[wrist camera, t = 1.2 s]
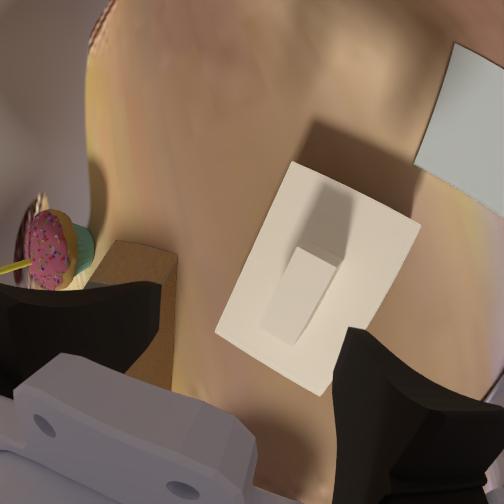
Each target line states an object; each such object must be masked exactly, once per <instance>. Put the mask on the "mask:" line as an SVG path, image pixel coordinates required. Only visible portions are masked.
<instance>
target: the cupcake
mask: <svg viewBox="0 0 504 504" xmlns="http://www.w3.org/2000/svg"><path fill="white" fill-rule="evenodd" d="M25 237H26V241H25V243H24V244H25V254H26V260H23V261H20V262H16V263H13V264H10V265H6V266H3V267H0V274H3V273H6V272H9V271H12V270H16V269H19V268H22V267H26V266H28V268H29V270H30V273H31V276H32V278H34V280H36V281H34V282H35V283H36V282H37V283H38V284H39V286H40V287H41V288H43V289H45V290H54V291H55V290H59V289H64V288H66V287H68V285H69V284H70V283H71V282H72V280H73V278H74V277H75V276H76V275H77V274H78V273H80V272H81V271H83V270H85V269H86V268H88V267H89V266H90V265H91V263H92V261H93V258H94V242H93V238H92V236H91V234H90V232H89V231H88V230H87V229H86V228H85V227H82V226H79V225H76V224H74V223H72V222H71V220H70V218H69V217H68V216H67V215H66V214H65V213H63V212H61V211H58V210H53V209H48V210H44V211H42V212H40V213H38V214H37V215H36V216H35V218H34V219H33V222H31V225H30V227H29V229H28V231H27V234H26V236H25Z"/></svg>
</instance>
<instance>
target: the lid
mask: <svg viewBox="0 0 504 504" xmlns="http://www.w3.org/2000/svg"><path fill="white" fill-rule="evenodd" d="M421 226H422V225H420V224H419V223H417V222H415V221H413V220H411V219H410V218H408V217H406V216H404V215H402V214H400V213H399V212H397V211H395V210H393V209H391V208H389V207H387V206H385V205H384V204H382V203H380V202H378V201H376V200H374V199H372V198H370V197H368V196H366V195H364V194H362V193H360V192H358V191H356V190H354V189H352V188H350V187H348V186H346V185H344V184H341V183H339V182H337V181H335V180H333V179H331V178H329V177H327V176H324V175H322V174H320V173H318V172H316V171H313V170H311V169H309V168H307V167H304V166H302V165H300V164H298V163H295V162H293V161H292V162H291V164H290V166H289V168H288V171H287V173H286V175H285V177H284V179H283V182H282V184H281V186H280V188H279V190H278V193H277V195H276V197H275V199H274V201H273V204H272V206H271V208H270V210H269V212H268V215H267V217H266V219H265V221H264V224H263V226H262V228H261V230H260V232H259V235H258V237H257V239H256V241H255V243H254V246H253V248H252V250H251V252H250V254H249V257H248V259H247V261H246V263H245V265H244V268H243V270H242V272H241V274H240V277H239V279H238V281H237V283H236V285H235V288H234V290H233V292H232V294H231V296H230V299H229V301H228V303H227V305H226V308H225V310H224V312H223V314H222V316H221V319H220V321H219V323H218V325H217V327H216V330H215V333H217V334H218V335H220V336H221V337H223V338H224V339H226V340H227V341H229V342H230V343H232V344H234V345H235V346H237V347H238V348H240V349H241V350H243V351H244V352H246V353H248V354H249V355H251V356H252V357H254V358H255V359H257V360H259V361H260V362H262V363H264V364H265V365H267V366H268V367H270V368H272V369H273V370H275V371H277V372H278V373H280V374H282V375H283V376H285V377H287V378H288V379H290V380H292V381H293V382H295V383H297V384H299V385H300V386H302V387H304V388H306V389H307V390H309V391H311V392H313V393H314V394H316V395H318V396H321V395H322V394H323V392H324V391H325V389H326V388H327V387H328V385H329V384H330V382H331V381H332V380H333V370H334V367H335V364H336V362H337V359H338V356H339V353H340V350H341V347H342V344H343V341H344V338H345V335H346V332H347V329H348V326H349V327H354V328H360V329H364V330H365V329H366V328H367V326H368V325H369V323H370V321H371V320H372V318H373V316H374V315H375V313H376V311H377V310H378V308H379V306H380V304H381V303H382V301H383V299H384V297H385V296H386V294H387V292H388V290H389V288H390V287H391V285H392V283H393V281H394V279H395V278H396V276H397V274H398V272H399V270H400V268H401V266H402V264H403V262H404V260H405V258H406V257H407V255H408V253H409V251H410V249H411V247H412V245H413V243H414V240H415V238H416V236H417V234H418V232H419V230H420V228H421Z"/></svg>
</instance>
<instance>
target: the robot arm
mask: <svg viewBox="0 0 504 504" xmlns="http://www.w3.org/2000/svg"><path fill="white" fill-rule="evenodd" d="M161 291H162V284H159V283H155V282H151V281H136V282H129V283H123V284H118V285H112V286H106V287H99V288H92V289H84V290H68V291H54V290H35V289H27V288H20V287H14V286H10V285H5V284H1V283H0V504H304V503H301V502H298V501H295V500H292V499H289V498H286V497H283V496H280V495H277V494H274V493H272V492H269V491H266V490H264V489H261V488H259V487H256V486H254V485H253V484H252V482H253V477H254V473H255V468H256V464H257V460H258V453H257V445H256V437H255V436H254V435H253V434H252V433H251V432H250V431H249V430H248V429H247V428H246V427H245V426H244V425H243V424H242V422H241V421H240V420H239V419H238V418H237V417H236V416H234V415H232V414H230V413H227V412H225V411H223V410H221V409H219V408H217V407H215V406H212V405H210V404H208V403H206V402H204V401H201V400H198V399H194V398H191V397H188V396H184V395H181V394H178V393H175V392H172V391H169V390H166V389H163V388H160V387H157V386H154V385H151V384H149V383H146V382H143V381H140V380H138V379H135V378H132V377H130V376H127V375H124V374H125V373H126V372H127V370H128V369H129V368H130V367H131V366H132V365H133V364H134V363H135V362H136V361H137V359H138V358H139V357H140V356H141V355H142V354H143V353H144V352H145V350H146V349H147V348H148V347H149V345H150V344H151V342H152V341H153V339H154V338H155V336H156V334H157V333H158V331H159V322H160V305H161ZM332 396H333V406H334V415H335V425H336V435H337V459H336V473H335V484H334V492H333V500H332V504H504V374H503V376H502V377H501V378H500V380H499V381H498V383H497V384H496V385H495V387H494V388H493V390H492V391H491V392H490V394H489V395H488V396H487V398H486V399H485V400H484V401H479V400H475V399H472V398H469V397H466V396H464V395H461V394H458V393H456V392H453V391H451V390H449V389H447V388H445V387H442V386H440V385H438V384H436V383H434V382H433V381H431V380H429V379H427V378H426V377H424V376H423V375H421V374H419V373H418V372H416V371H415V370H413V369H412V368H410V367H409V366H408V365H406V364H405V363H404V362H403V361H401V360H400V359H399V358H398V357H396V356H395V355H394V354H393V353H392V352H390V351H389V350H388V349H387V348H386V347H385V346H384V345H383V344H381V343H380V342H379V341H378V340H377V339H376V338H375V337H374V336H372V335H371V334H370V333H369V332H367V331H366V330H364V329H360V328H354V327H349V326H348V329H347V332H346V335H345V338H344V341H343V344H342V347H341V350H340V353H339V356H338V359H337V362H336V364H335V367H334V370H333V381H332ZM487 469H488V471H489V475H490V479H491V483H492V487H493V490H491V491H490V492H488V493H487V494H485V493H484V490H483V488H482V486H485V484H486V483H487V478H486V475H485V472H486V471H487Z"/></svg>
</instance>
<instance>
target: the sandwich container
mask: <svg viewBox="0 0 504 504" xmlns="http://www.w3.org/2000/svg"><path fill="white" fill-rule="evenodd" d="M177 264H178V255H177V254H175V253H171V252H167V251H164V250H160V249H157V248H153V247H149V246H146V245H141V244H136V243H130V242H125V241H119V240H116V241H115V242H114V243H113V245H112V246H111V248H110V249H109V250H108V252H107V253H106V255H105V256H104V258H103V259H102V261H101V263H100V264H99V266H98V267H97V269H96V270H95V272H94V273H93V275H92V276H91V278H90V279H89V281H88V282H87V284H86V285H85V287H84V289H92V288H99V287H106V286H112V285H118V284H123V283H129V282H136V281H151V282H155V283H159V284H162V291H161V305H160V322H159V331H158V333H157V334H156V336H155V338H154V339H153V341H152V342H151V344H150V345H149V347H148V348H147V349H146V350H145V352H144V353H143V354H142V355H141V356H140V357H139V358H138V359H137V361H136V362H135V363H134V364H133V365H132V366H131V367H130V368H129V369H128V370H127V372H126V373H125V374H124V375H127V376H130V377H132V378H135V379H138V380H140V381H143V382H146V383H149V384H151V385H154V386H157V387H160V388H163V389H166V390H169V391H171V382H172V365H173V350H174V319H175V297H176V280H177ZM84 289H83V290H84Z"/></svg>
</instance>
